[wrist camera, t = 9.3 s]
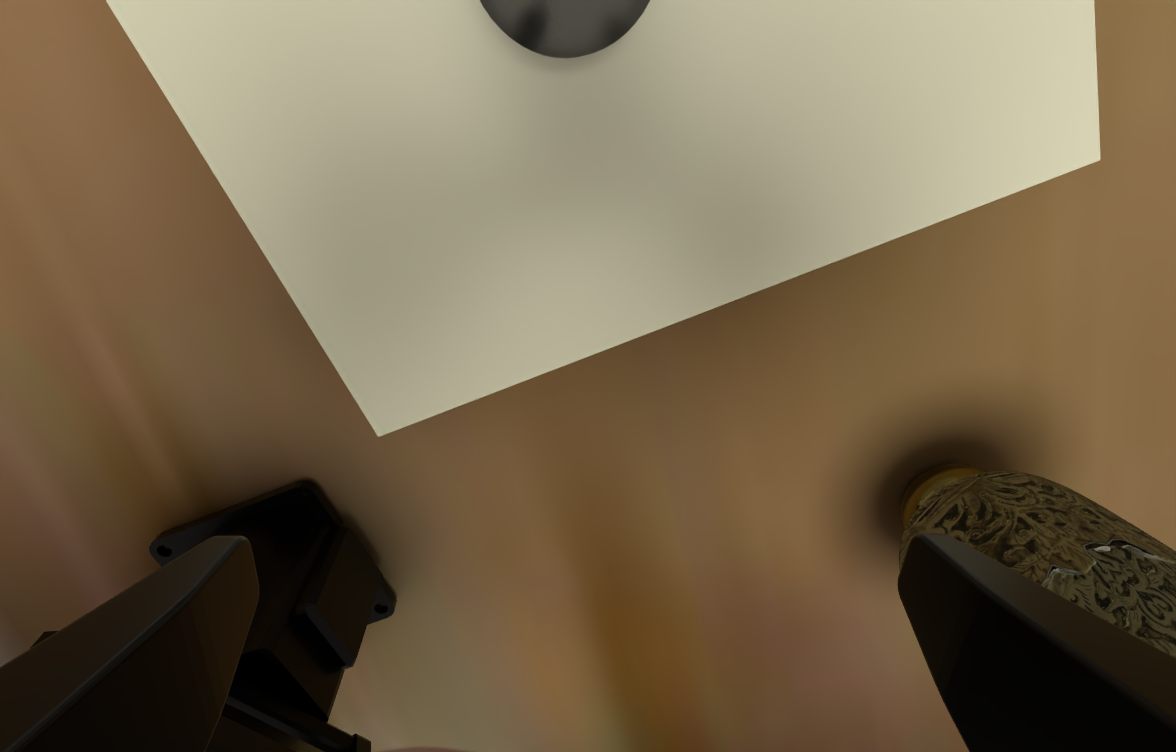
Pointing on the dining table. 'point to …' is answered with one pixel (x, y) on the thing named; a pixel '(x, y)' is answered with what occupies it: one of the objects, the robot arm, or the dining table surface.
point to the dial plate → (597, 160)
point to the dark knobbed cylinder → (565, 23)
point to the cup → (1052, 543)
